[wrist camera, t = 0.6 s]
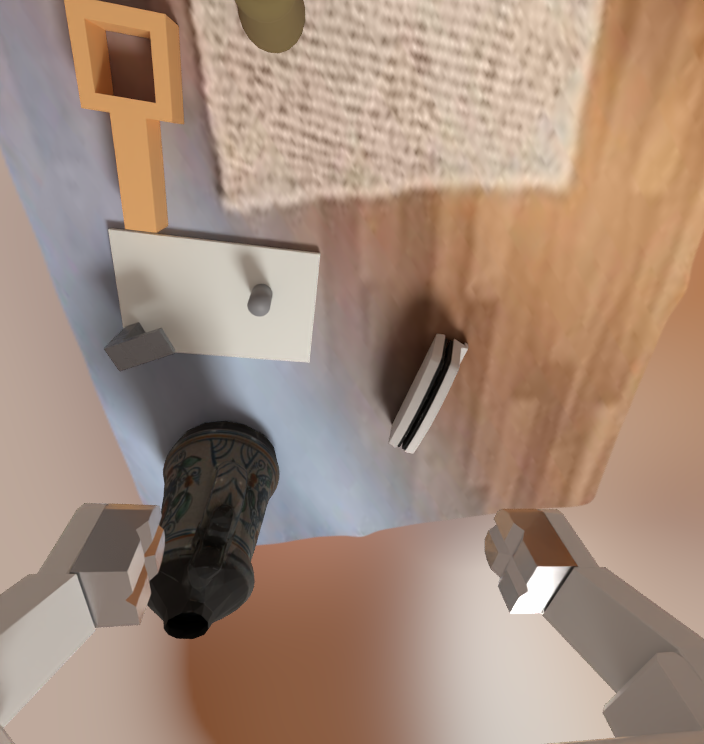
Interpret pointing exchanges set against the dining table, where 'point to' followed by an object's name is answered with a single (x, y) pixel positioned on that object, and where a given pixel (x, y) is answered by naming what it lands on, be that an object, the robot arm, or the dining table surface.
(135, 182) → the link
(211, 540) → the beer stein
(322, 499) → the dining table surface
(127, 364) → the bracket
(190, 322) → the board
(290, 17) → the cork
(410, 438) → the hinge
